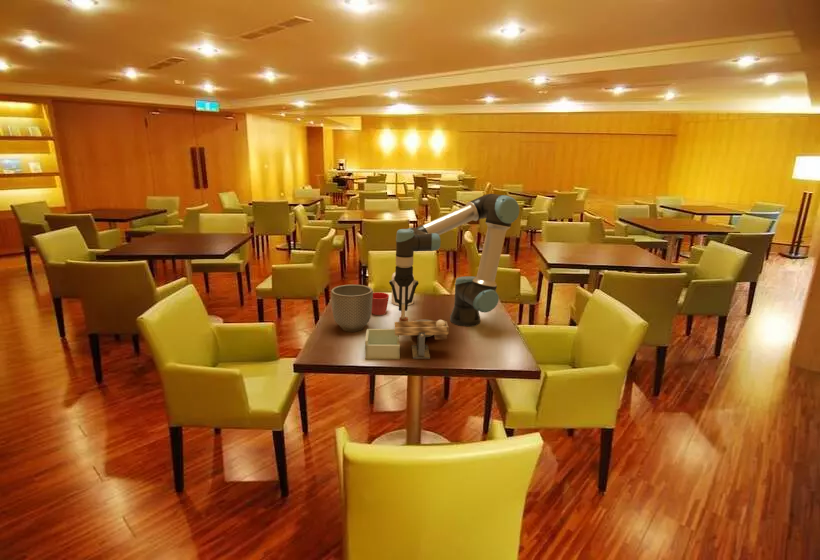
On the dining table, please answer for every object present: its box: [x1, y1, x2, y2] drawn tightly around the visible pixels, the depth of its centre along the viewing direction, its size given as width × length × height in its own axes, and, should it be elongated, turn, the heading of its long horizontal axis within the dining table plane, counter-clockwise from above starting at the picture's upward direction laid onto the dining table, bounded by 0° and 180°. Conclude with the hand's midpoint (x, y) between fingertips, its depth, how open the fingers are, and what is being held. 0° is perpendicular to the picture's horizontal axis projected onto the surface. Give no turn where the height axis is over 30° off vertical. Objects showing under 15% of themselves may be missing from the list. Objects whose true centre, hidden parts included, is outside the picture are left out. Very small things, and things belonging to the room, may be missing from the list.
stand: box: [411, 332, 431, 360], centre depth 190 cm, size 7×12×11 cm, turn 2°
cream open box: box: [364, 328, 401, 360], centre depth 189 cm, size 14×13×8 cm
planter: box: [330, 284, 374, 333], centre depth 214 cm, size 20×20×19 cm
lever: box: [394, 316, 450, 340], centre depth 194 cm, size 22×18×6 cm
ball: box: [436, 319, 446, 327], centre depth 188 cm, size 4×4×4 cm
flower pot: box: [371, 292, 390, 316], centre depth 237 cm, size 11×11×10 cm
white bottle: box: [391, 272, 415, 307], centre depth 253 cm, size 12×12×20 cm
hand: (402, 317), depth 199 cm, fingers closed
